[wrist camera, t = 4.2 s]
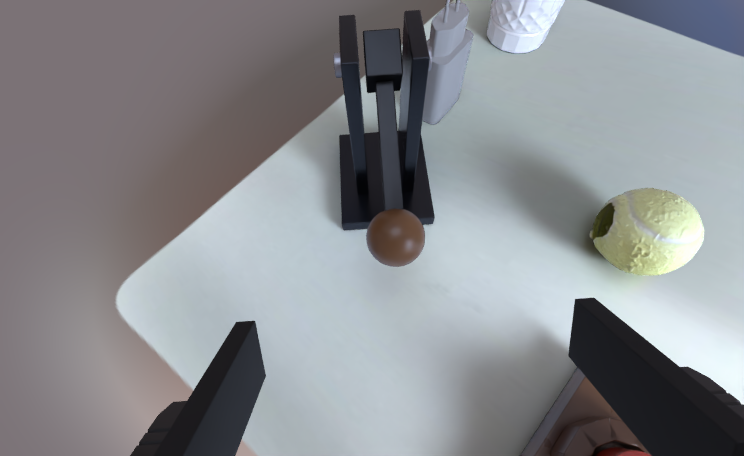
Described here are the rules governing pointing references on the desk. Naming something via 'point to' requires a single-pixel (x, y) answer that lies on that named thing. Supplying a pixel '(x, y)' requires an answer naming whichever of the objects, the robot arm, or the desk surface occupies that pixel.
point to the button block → (581, 424)
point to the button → (621, 452)
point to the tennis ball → (648, 231)
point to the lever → (389, 154)
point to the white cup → (521, 23)
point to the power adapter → (447, 60)
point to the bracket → (363, 148)
